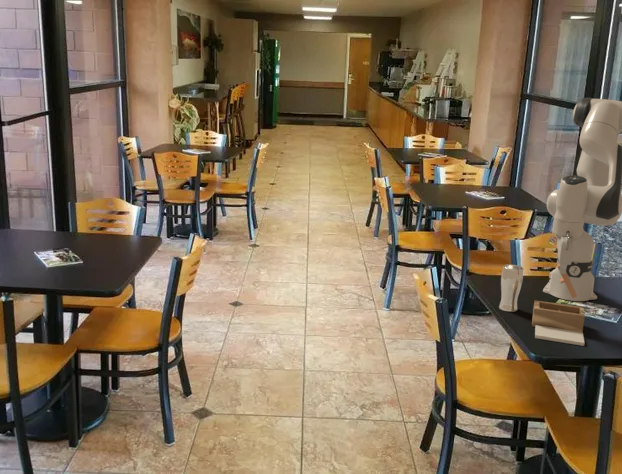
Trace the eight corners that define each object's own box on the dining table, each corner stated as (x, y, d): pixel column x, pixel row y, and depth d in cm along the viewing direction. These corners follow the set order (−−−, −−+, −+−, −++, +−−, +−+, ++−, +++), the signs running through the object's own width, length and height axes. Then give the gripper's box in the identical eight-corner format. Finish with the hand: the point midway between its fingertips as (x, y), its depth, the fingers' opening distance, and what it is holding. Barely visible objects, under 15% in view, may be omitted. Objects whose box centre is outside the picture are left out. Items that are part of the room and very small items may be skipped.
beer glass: (500, 303, 229) (505, 263, 226) (520, 308, 226) (526, 266, 222) (495, 309, 223) (500, 267, 220) (515, 313, 220) (521, 271, 217)
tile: (553, 265, 210) (561, 261, 209) (568, 295, 211) (576, 292, 210) (553, 268, 206) (562, 265, 205) (568, 299, 206) (577, 296, 205)
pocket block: (532, 317, 218) (534, 300, 216) (580, 324, 213) (582, 307, 212) (531, 326, 209) (534, 308, 208) (581, 334, 205) (584, 316, 203)
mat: (535, 328, 208) (535, 325, 208) (582, 335, 204) (582, 332, 204) (535, 338, 200) (535, 335, 200) (584, 345, 196) (584, 342, 195)
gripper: (580, 237, 193) (574, 281, 197) (576, 222, 212) (571, 262, 216) (557, 235, 195) (551, 278, 199) (556, 220, 214) (551, 260, 218)
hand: (561, 270), depth 207 cm, fingers closed on tile, 5 cm apart
